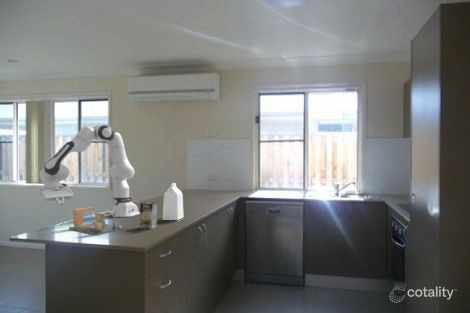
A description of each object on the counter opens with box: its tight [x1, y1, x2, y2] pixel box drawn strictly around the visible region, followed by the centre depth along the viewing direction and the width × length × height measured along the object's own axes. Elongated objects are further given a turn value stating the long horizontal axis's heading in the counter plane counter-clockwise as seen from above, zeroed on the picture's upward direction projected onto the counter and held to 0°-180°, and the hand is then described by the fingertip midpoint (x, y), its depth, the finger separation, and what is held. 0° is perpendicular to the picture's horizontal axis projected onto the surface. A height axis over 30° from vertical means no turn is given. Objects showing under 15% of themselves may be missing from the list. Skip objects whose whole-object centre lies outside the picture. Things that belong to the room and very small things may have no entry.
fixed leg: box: [73, 210, 116, 232], centre depth 217 cm, size 13×26×11 cm, turn 57°
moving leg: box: [72, 206, 95, 225], centre depth 223 cm, size 13×4×10 cm, turn 147°
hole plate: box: [68, 220, 126, 236], centre depth 219 cm, size 20×28×2 cm
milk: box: [162, 182, 185, 221], centre depth 254 cm, size 12×12×26 cm
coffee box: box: [139, 201, 158, 230], centre depth 225 cm, size 9×6×16 cm
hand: (61, 204), depth 229 cm, fingers closed
